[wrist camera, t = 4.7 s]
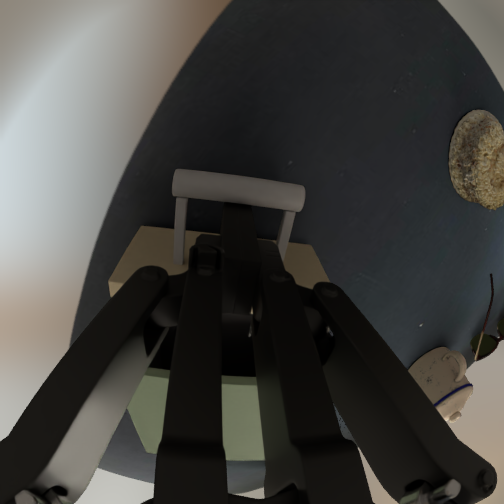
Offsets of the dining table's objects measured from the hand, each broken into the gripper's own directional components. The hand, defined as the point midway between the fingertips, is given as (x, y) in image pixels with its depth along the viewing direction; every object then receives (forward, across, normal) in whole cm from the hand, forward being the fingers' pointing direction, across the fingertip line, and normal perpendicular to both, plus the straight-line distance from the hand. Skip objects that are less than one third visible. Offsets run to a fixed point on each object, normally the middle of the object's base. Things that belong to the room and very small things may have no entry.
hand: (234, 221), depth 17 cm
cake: (+5, +23, +9) cm, 25 cm away
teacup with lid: (+5, +33, -20) cm, 39 cm away
